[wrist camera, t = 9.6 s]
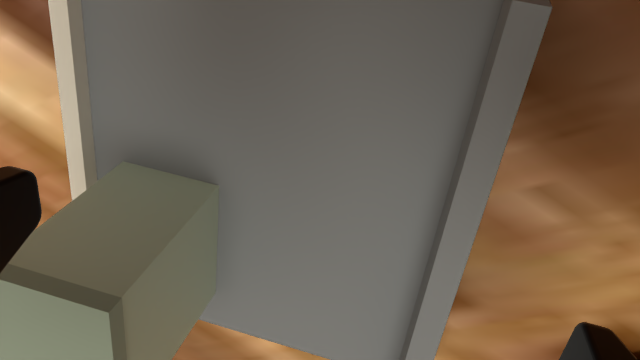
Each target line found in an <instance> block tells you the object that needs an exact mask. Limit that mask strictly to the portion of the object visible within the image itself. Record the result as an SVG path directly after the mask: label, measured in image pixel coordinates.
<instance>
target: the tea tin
mask: <svg viewBox="0 0 640 360" xmlns="http://www.w3.org/2000/svg"><path fill="white" fill-rule="evenodd" d="M218 206H219V186H218V185H214V184H210V183H206V182H202V181H199V180H195V179H191V178H187V177H183V176H179V175H175V174H171V173H167V172H163V171H159V170H155V169H151V168H147V167H143V166H140V165H136V164H132V163H128V162H124V161H123V162H122V163H120V164H119V165H118V166H116V167H115V168H114V169H113V170H111V171H110V172H109V173H107V174H106V175H105V176H104V177H102V178H101V179H100V180H98V181H97V182H96V183H95V184H93V185H92V186H91V187H90V188H88V189H87V190H86V191H84V192H83V193H82V194H81V195H79V196H78V197H77V198H75V199H74V200H73V201H72V202H70V203H69V204H68V205H66V206H65V207H64V208H63V209H61V210H60V211H59V212H57V213H56V214H55V215H54V216H52V217H51V218H50V219H48V220H47V221H46V222H45V223H43V224H42V225H41V226H39V227H38V228H37V229H36V230H34V231H33V232H32V233H31V235H30V236H29V237H28V238H27V240H26V241H25V242H24V244H23V245H22V246H21V247H20V249H19V250H18V251H17V253H16V254H15V255H14V256H13V258H12V259H11V260H10V262H9V263H8V264H7V265H6V267H5V268H4V269H3V271H2V272H1V273H0V360H172V358H173V357H174V355H175V353H176V352H177V350H178V349H179V347H180V346H181V344H182V343H183V341H184V340H185V338H186V337H187V335H188V334H189V332H190V331H191V329H192V328H193V326H194V325H195V323H196V322H197V320H198V319H199V317H200V316H201V314H202V312H203V311H204V309H205V308H206V306H207V305H208V303H209V302H210V300H211V299H212V297H213V296H214V294H215V293H216V265H217V235H218Z"/></svg>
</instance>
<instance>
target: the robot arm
mask: <svg viewBox="0 0 640 360" xmlns="http://www.w3.org/2000/svg"><path fill="white" fill-rule="evenodd" d="M41 213H42V212H41V204H40V198H39V191H38V185H37V179H36V177H35V175H34V174H33V173H32V172H30V171H28V170H24V169H20V168H17V167H12V166H7V167H2V168H0V273H1V272H2V271H3V269H4V268H5V267H6V265H7V264H8V263H9V262H10V260H11V259H12V258H13V256H14V255H15V254H16V253H17V251H18V250H19V249H20V247H21V246H22V245H23V244H24V242H25V241H26V240H27V238H28V237H29V236H30V235H31V233H32V232H33V231H34V229H35V228H36V227H37V225H38V223H39V221H40V219H41ZM559 360H637V359H636V357H635V356H634V355H633V354H632V353H631V352H630V351H629V349H628V348H627V347H626V346H625V345H624V344H623V343H622V341H621V340H620V339H619V338H618V337H617V336H616V335H615V334H614V333H613V332H612V331H611V330H610V329H608V328H605V327H601V326H598V325H594V324H590V323H587V322H582V323H579V324H578V325H577V326H576V327H575V329H574V331H573V333H572V335H571V337H570V339H569V341H568V343H567V345H566V347H565V349H564V351H563V353H562V355H561V357H560V359H559Z"/></svg>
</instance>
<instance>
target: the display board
mask: <svg viewBox="0 0 640 360" xmlns="http://www.w3.org/2000/svg"><path fill="white" fill-rule="evenodd" d="M48 4H49V13H50V21H51V29H52V37H53V46H54V54H55V62H56V71H57V79H58V87H59V96H60V104H61V112H62V121H63V129H64V137H65V145H66V154H67V162H68V170H69V179H70V187H71V195H72V201H73V200H74V199H75V198H77V197H78V196H79V195H81V194H82V193H83V192H84V191H86V190H87V189H88V188H90V187H91V186H92V185H93V184H95V183H96V182H97V181H98V180H100V179H101V178H102V177H104V176H105V175H106V174H107V173H109V172H110V171H111V170H113V169H114V168H115V167H116V166H118V165H119V164H120V163H122V162H123V161H124V162H128V163H132V164H136V165H140V166H143V167H147V168H151V169H155V170H159V171H163V172H167V173H171V174H175V175H179V176H183V177H187V178H191V179H195V180H199V181H202V182H206V183H210V184H214V185H218V186H219V206H218V235H217V265H216V293H215V294H214V296H213V297H212V299H211V300H210V302H209V303H208V305H207V306H206V308H205V309H204V311H203V312H202V314H201V316H200V317H199V320H202V321H206V322H209V323H212V324H216V325H219V326H222V327H225V328H229V329H232V330H235V331H239V332H242V333H245V334H248V335H252V336H255V337H258V338H262V339H265V340H268V341H271V342H275V343H278V344H281V345H285V346H288V347H291V348H294V349H298V350H301V351H304V352H308V353H311V354H314V355H317V356H321V357H324V358H327V359H331V360H434V358H435V355H436V352H437V349H438V346H439V343H440V340H441V337H442V334H443V331H444V328H445V325H446V322H447V319H448V316H449V313H450V310H451V307H452V304H453V301H454V298H455V295H456V292H457V289H458V286H459V284H460V281H461V278H462V275H463V272H464V269H465V266H466V263H467V260H468V257H469V254H470V251H471V248H472V245H473V242H474V239H475V236H476V233H477V230H478V227H479V224H480V221H481V218H482V215H483V212H484V209H485V206H486V203H487V200H488V197H489V194H490V191H491V188H492V185H493V182H494V179H495V177H496V174H497V171H498V168H499V165H500V162H501V159H502V156H503V153H504V150H505V147H506V144H507V141H508V138H509V135H510V132H511V129H512V126H513V123H514V120H515V117H516V114H517V111H518V108H519V105H520V102H521V99H522V96H523V93H524V90H525V87H526V84H527V81H528V78H529V75H530V72H531V69H532V67H533V64H534V61H535V58H536V55H537V52H538V49H539V46H540V43H541V40H542V37H543V34H544V31H545V28H546V25H547V22H548V19H549V16H550V13H551V10H552V5H551V3H550V1H549V0H48Z"/></svg>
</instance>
